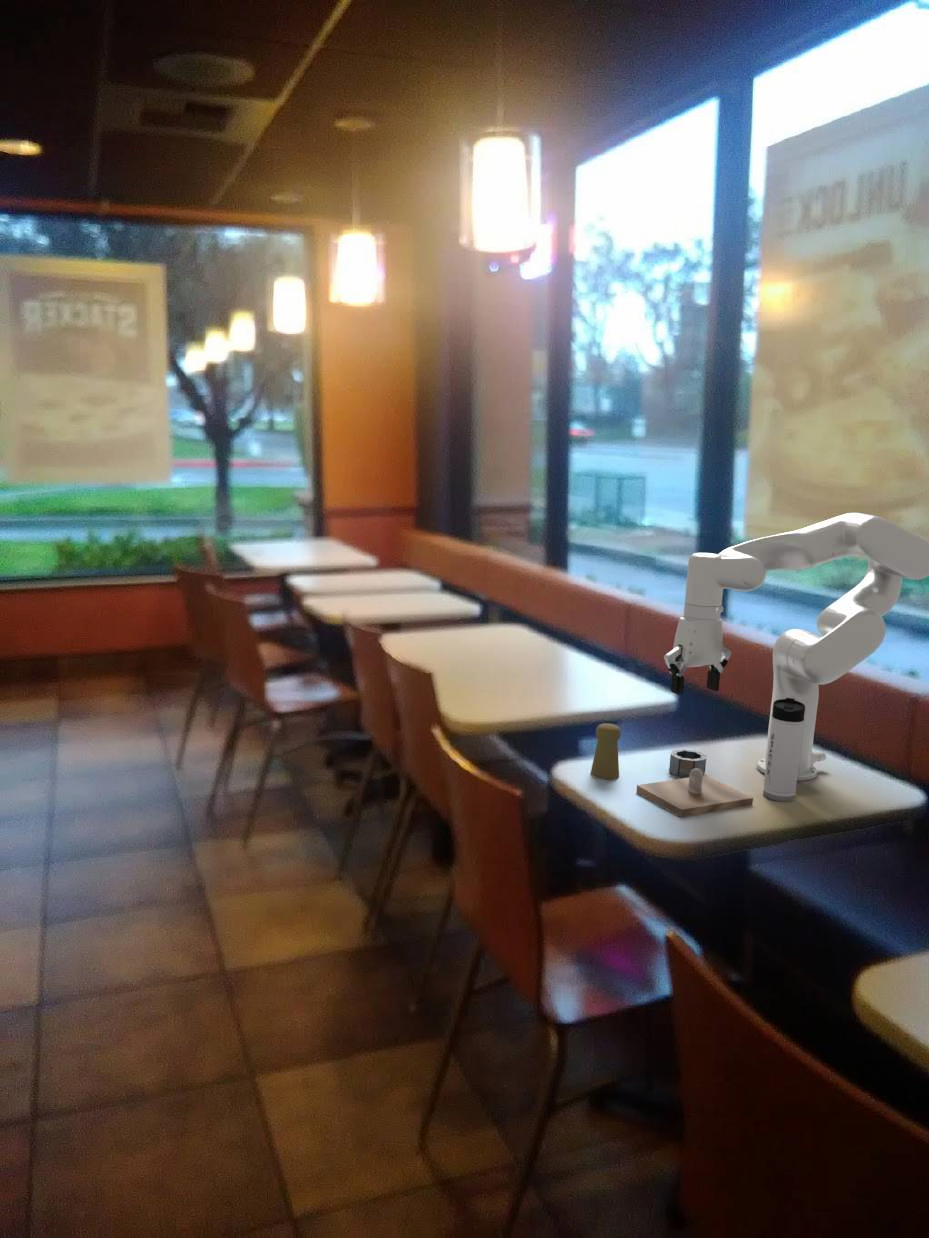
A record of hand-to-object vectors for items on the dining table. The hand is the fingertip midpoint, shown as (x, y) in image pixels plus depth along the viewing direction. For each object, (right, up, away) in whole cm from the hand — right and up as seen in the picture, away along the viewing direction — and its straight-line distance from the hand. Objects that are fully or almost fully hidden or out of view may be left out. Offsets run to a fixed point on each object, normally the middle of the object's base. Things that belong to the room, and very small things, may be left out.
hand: (694, 691), depth 217 cm
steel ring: (-1, -18, +3) cm, 18 cm away
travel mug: (+15, -21, -8) cm, 27 cm away
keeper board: (-3, -21, -12) cm, 24 cm away
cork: (-19, -18, 0) cm, 26 cm away
